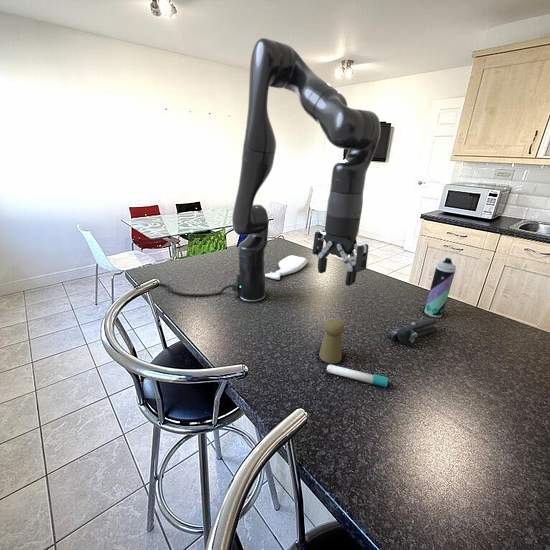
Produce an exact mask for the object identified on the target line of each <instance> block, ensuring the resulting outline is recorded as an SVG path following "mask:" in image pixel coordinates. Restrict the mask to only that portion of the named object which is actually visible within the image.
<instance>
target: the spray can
mask: <svg viewBox="0 0 550 550" xmlns="http://www.w3.org/2000/svg"><path fill="white" fill-rule="evenodd" d="M456 269H457V266H456V265H454V263H453V261H452V259H451V257H445V259H444V260H443V261H441V262H437V264H436V266H435V270H434V274H433V277H432V281H431V285H430V288H429V292H428V296H427V300H426V304H425V308H424V313H425V314H426V315H427V316H428V317H431V318H442V316H443V313H444V311H445V308H446V303H447V301H448V297H449V294H450V290H451V287H452V285H453V280H454V277H455V274H456V271H457V270H456Z"/></svg>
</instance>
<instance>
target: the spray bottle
mask: <svg viewBox="0 0 550 550" xmlns="http://www.w3.org/2000/svg"><path fill="white" fill-rule="evenodd" d="M307 264H308V260H307V258H306V257H302V256H297V255H293V254H291V255H288V256H286V257H284V258H282V259H281V260H280V261H279V262H278V267H279V269H278V270H276V271H275V272H272V271H270V272H269V273H265V278H269V279H273V280H279V281H280V280H281V277H283V276H287V275H290V274H294V273H296V272H298V271H300V270H302V268H304V267H306V265H307Z"/></svg>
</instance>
